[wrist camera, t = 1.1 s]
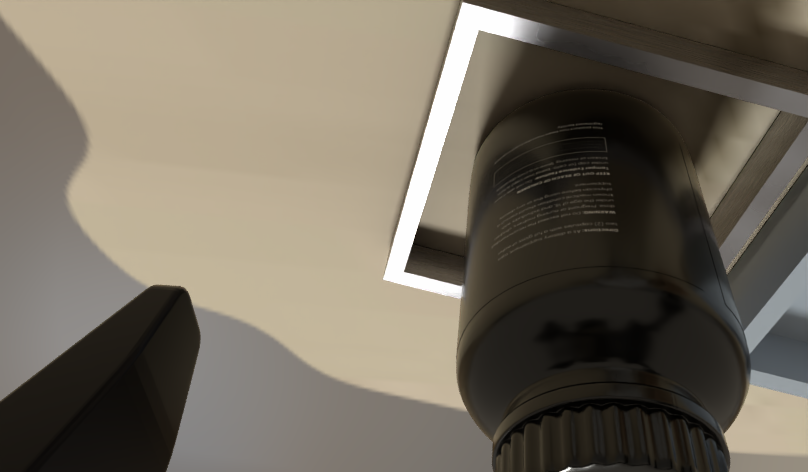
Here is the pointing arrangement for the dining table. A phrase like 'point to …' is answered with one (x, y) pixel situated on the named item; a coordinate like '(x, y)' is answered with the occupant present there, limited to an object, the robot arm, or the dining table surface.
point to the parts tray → (777, 296)
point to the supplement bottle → (596, 295)
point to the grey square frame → (626, 48)
